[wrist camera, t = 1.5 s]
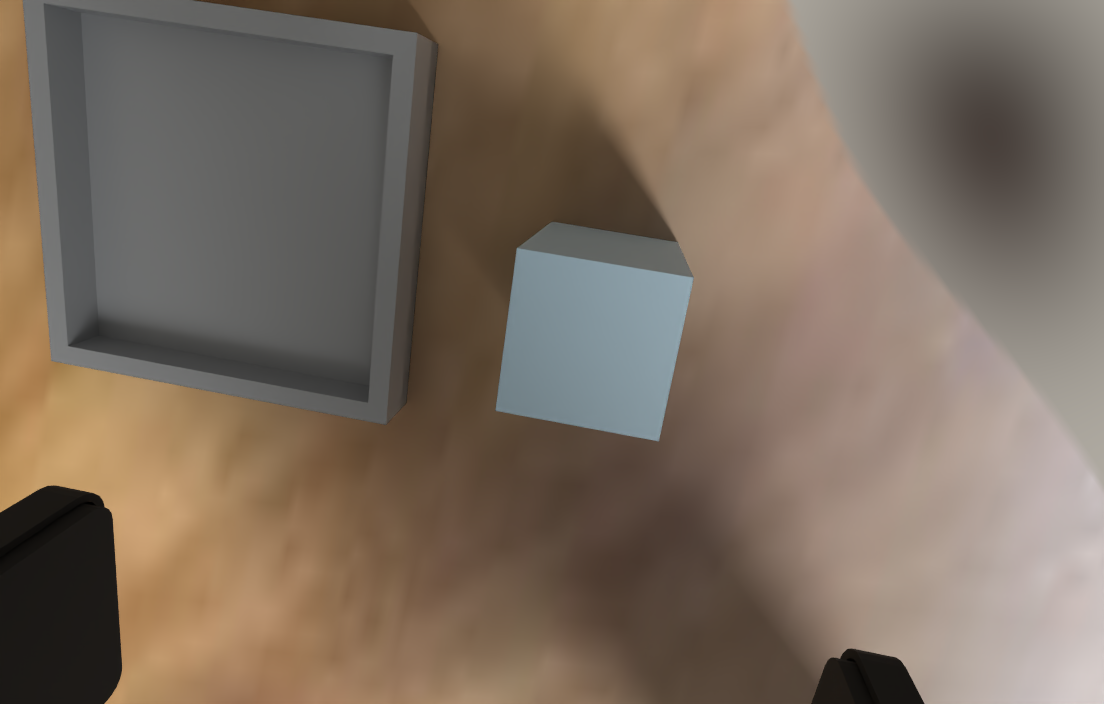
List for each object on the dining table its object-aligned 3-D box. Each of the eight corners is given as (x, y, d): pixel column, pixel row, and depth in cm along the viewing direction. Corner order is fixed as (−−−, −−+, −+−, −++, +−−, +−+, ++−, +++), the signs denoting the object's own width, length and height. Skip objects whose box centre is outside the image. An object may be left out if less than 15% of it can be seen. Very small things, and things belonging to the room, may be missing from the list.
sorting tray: (438, 44, 25) (417, 32, 23) (406, 403, 29) (385, 424, 27) (76, -9, 26) (20, -25, 24) (97, 344, 31) (51, 360, 28)
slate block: (677, 242, 26) (693, 277, 19) (653, 362, 28) (658, 441, 20) (552, 221, 27) (516, 248, 19) (534, 341, 28) (495, 410, 20)
